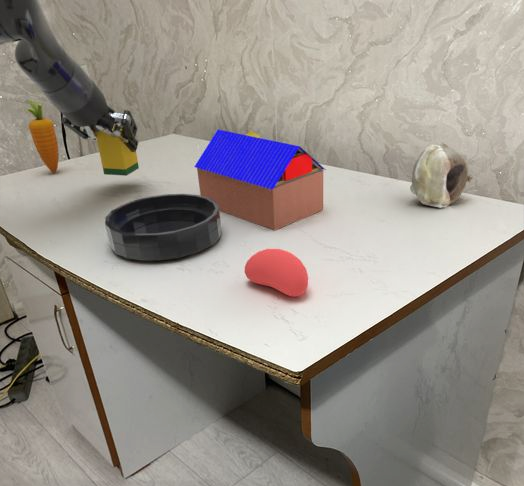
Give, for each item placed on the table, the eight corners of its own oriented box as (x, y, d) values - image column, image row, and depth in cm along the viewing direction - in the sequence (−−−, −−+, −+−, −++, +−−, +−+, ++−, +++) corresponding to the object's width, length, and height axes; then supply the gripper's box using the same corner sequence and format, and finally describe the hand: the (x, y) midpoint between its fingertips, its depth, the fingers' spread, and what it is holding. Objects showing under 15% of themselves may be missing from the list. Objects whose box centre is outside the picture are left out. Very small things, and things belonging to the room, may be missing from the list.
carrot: (66, 174, 119) (47, 100, 110) (43, 177, 117) (21, 103, 109) (64, 168, 123) (45, 97, 114) (42, 172, 121) (21, 100, 113)
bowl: (110, 271, 76) (103, 242, 73) (112, 228, 90) (106, 202, 87) (229, 254, 78) (226, 224, 76) (213, 214, 92) (210, 188, 90)
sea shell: (412, 219, 91) (396, 165, 86) (423, 195, 96) (409, 142, 91) (470, 209, 86) (457, 150, 80) (478, 184, 91) (466, 127, 86)
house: (248, 186, 103) (243, 122, 97) (326, 209, 91) (326, 137, 84) (199, 204, 97) (190, 136, 90) (274, 231, 84) (270, 155, 78)
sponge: (126, 175, 103) (118, 132, 99) (104, 174, 105) (94, 131, 100) (139, 168, 107) (131, 126, 103) (117, 167, 108) (109, 125, 104)
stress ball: (284, 278, 74) (259, 241, 71) (325, 277, 66) (298, 235, 64) (260, 302, 72) (233, 266, 70) (299, 304, 65) (270, 263, 62)
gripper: (114, 70, 87) (159, 130, 104) (41, 71, 91) (95, 128, 107) (104, 112, 86) (151, 166, 102) (30, 110, 90) (86, 163, 106)
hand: (122, 147), depth 105 cm, fingers closed on sponge, 5 cm apart
